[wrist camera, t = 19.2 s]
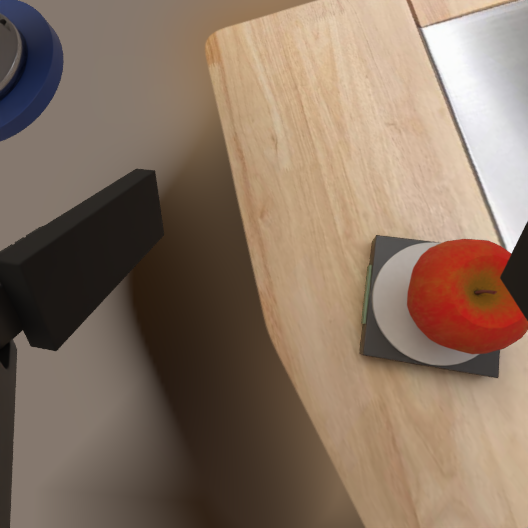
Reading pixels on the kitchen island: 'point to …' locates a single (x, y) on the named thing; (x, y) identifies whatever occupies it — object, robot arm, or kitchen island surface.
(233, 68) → the kitchen island surface
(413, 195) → the kitchen island surface
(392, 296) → the kitchen scale
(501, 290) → the apple
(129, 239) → the robot arm
